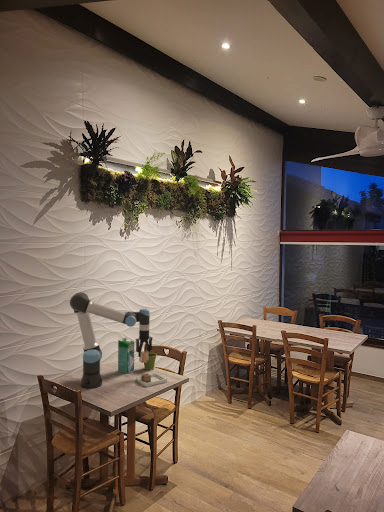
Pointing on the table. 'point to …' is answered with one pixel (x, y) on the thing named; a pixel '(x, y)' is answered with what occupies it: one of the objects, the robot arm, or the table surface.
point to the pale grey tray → (152, 380)
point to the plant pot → (150, 361)
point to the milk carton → (125, 355)
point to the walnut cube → (146, 378)
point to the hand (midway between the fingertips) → (143, 360)
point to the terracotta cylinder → (144, 357)
